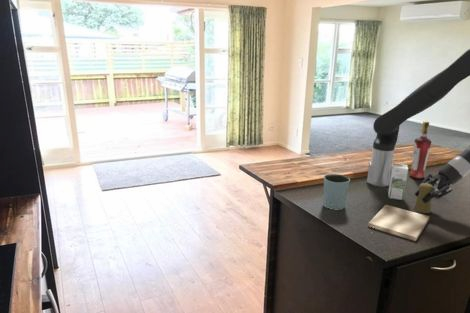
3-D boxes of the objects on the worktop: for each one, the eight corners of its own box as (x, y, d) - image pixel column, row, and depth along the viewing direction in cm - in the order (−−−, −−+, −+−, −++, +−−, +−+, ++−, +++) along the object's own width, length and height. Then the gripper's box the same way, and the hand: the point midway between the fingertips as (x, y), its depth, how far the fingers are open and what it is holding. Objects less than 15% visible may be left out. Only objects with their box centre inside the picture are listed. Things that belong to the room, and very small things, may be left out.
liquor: (406, 174, 185) (415, 120, 176) (421, 175, 184) (431, 120, 175) (411, 179, 178) (420, 123, 170) (427, 180, 177) (437, 123, 169)
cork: (410, 206, 148) (415, 181, 144) (425, 206, 148) (429, 181, 145) (419, 213, 142) (424, 187, 139) (433, 212, 143) (439, 186, 139)
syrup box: (401, 195, 159) (407, 164, 154) (403, 200, 153) (408, 168, 149) (387, 193, 160) (392, 162, 156) (388, 198, 155) (393, 166, 151)
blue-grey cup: (319, 208, 145) (322, 180, 142) (322, 198, 154) (325, 172, 151) (346, 212, 142) (349, 184, 138) (347, 202, 151) (350, 175, 147)
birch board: (368, 226, 131) (368, 222, 131) (385, 208, 146) (385, 204, 146) (415, 241, 122) (416, 237, 121) (428, 219, 137) (429, 216, 136)
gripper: (439, 157, 146) (405, 185, 150) (461, 169, 133) (423, 199, 136) (449, 170, 148) (415, 197, 151) (472, 183, 134) (434, 212, 138)
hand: (419, 198), depth 144 cm, fingers closed on cork, 5 cm apart
